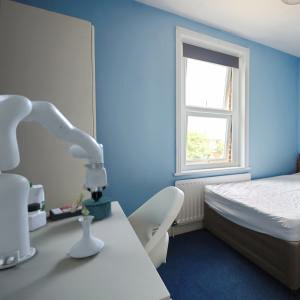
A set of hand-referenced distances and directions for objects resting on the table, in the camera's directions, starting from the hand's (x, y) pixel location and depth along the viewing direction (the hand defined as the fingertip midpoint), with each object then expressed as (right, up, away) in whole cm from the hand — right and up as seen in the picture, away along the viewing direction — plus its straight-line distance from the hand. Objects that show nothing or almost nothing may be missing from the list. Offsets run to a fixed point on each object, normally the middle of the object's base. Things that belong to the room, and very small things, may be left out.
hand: (96, 198), depth 115 cm
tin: (0, -11, +1) cm, 11 cm away
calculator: (-18, -10, +3) cm, 21 cm away
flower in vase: (+18, -13, -35) cm, 42 cm away
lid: (0, -2, 0) cm, 2 cm away
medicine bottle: (-23, -11, -13) cm, 29 cm away
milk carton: (-32, -11, -3) cm, 34 cm away
